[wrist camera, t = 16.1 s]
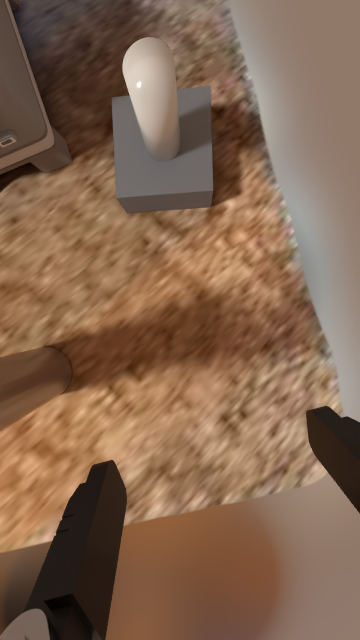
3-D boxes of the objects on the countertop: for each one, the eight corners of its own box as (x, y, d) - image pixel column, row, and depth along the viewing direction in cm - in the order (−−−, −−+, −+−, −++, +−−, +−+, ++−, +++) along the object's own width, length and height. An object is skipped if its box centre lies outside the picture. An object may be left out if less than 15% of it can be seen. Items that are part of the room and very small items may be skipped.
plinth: (127, 213, 37) (116, 198, 32) (123, 126, 36) (111, 97, 31) (210, 207, 35) (213, 190, 30) (208, 117, 35) (210, 85, 30)
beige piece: (147, 164, 31) (125, 98, 21) (143, 127, 31) (119, 42, 21) (182, 159, 31) (176, 89, 21) (179, 122, 30) (171, 32, 20)
